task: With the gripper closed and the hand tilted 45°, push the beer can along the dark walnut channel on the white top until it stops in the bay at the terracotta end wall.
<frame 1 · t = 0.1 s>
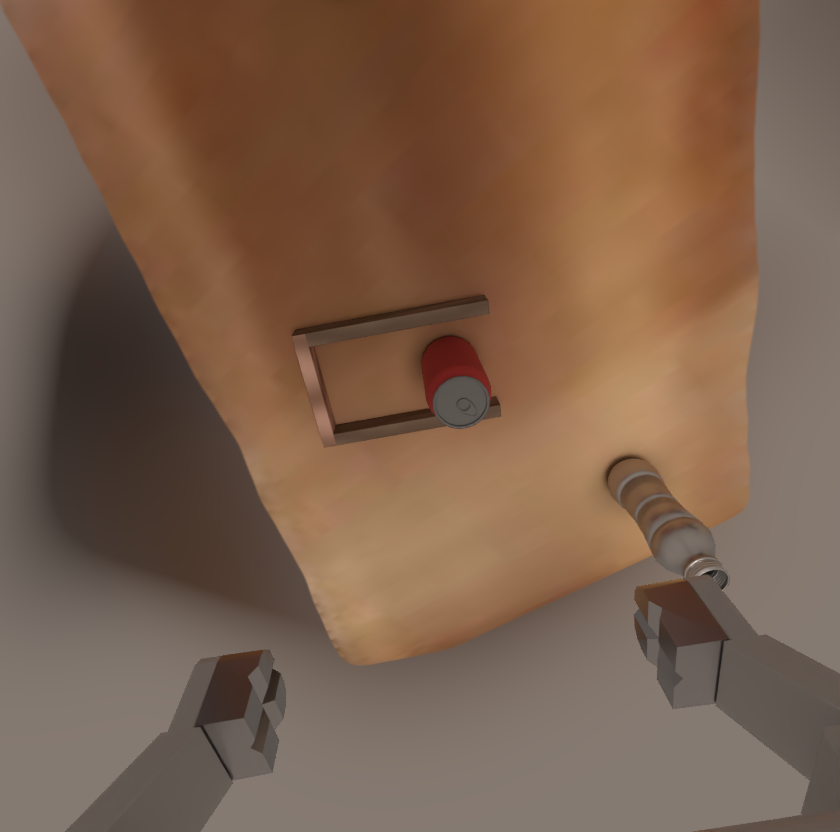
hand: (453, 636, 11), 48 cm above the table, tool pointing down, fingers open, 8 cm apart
walnut channel: (398, 370, 59), on the table
plastic bottle: (625, 472, 67), on the table
beer can: (448, 361, 59), on the table
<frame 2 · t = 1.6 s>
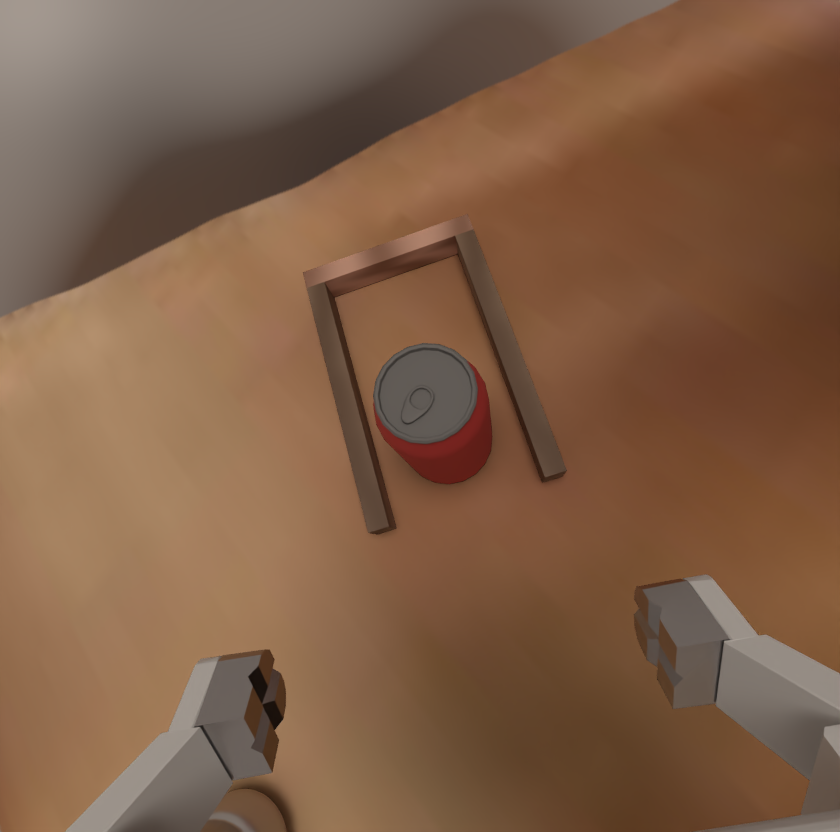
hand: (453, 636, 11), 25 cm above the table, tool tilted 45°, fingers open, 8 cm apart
walnut channel: (425, 370, 40), on the table
beer can: (448, 441, 38), on the table
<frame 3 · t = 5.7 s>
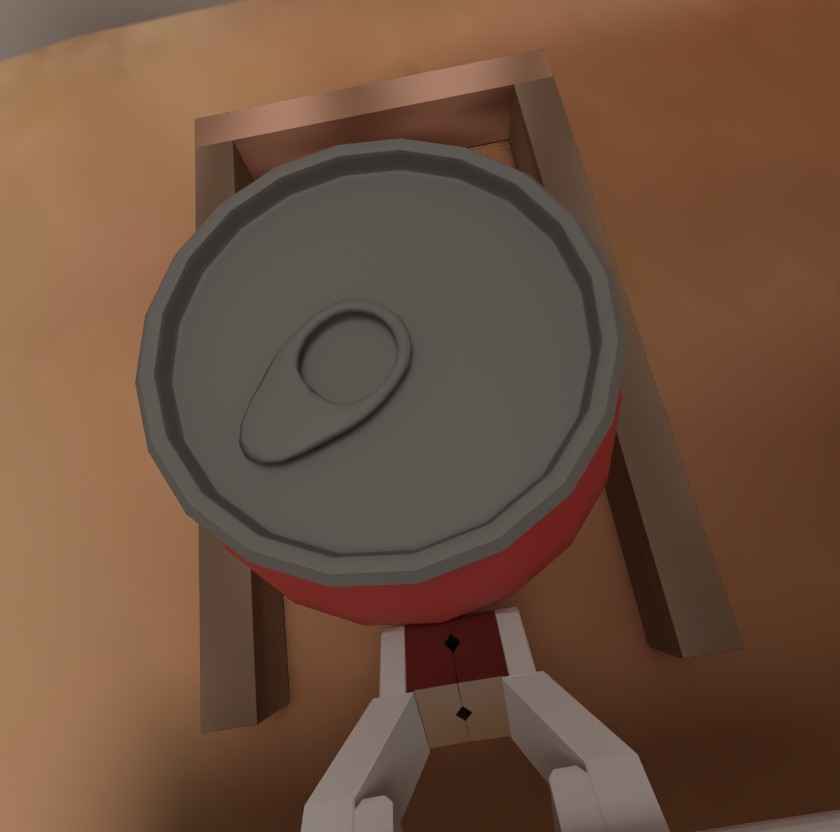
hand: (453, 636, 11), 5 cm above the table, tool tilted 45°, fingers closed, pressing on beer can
walnut channel: (413, 350, 19), on the table
beer can: (435, 498, 17), on the table, touching gripper
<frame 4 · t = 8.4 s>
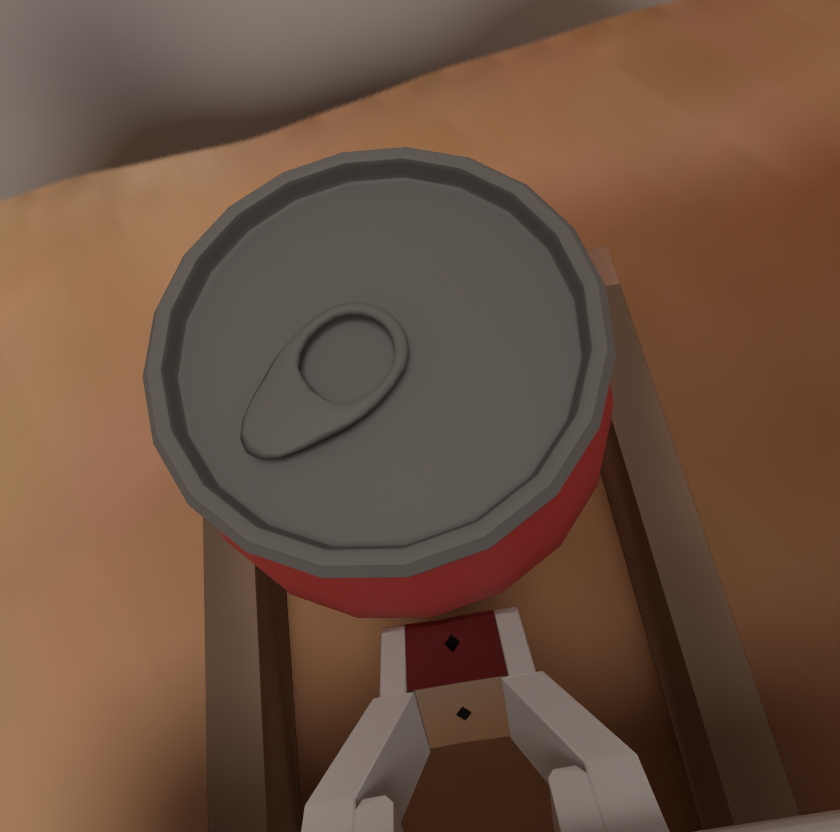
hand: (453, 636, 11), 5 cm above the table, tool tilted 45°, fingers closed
walnut channel: (458, 609, 16), on the table
beer can: (435, 497, 17), on the table
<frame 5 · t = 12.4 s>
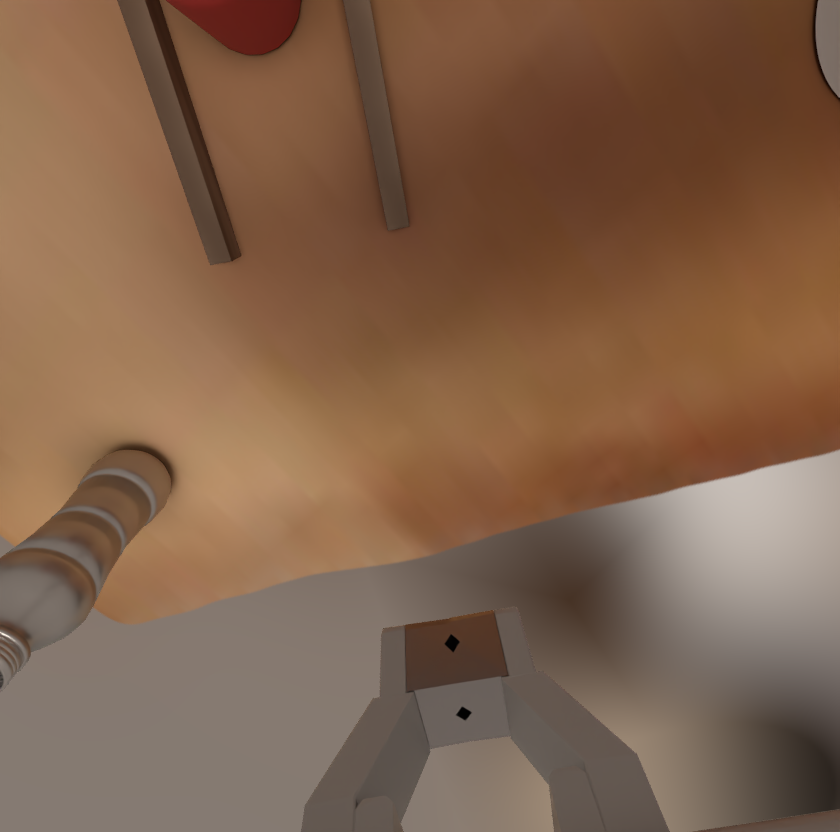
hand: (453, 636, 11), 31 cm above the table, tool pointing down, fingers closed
walnut channel: (268, 62, 32), on the table
plastic bottle: (142, 471, 45), on the table
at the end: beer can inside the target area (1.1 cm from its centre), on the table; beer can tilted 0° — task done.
